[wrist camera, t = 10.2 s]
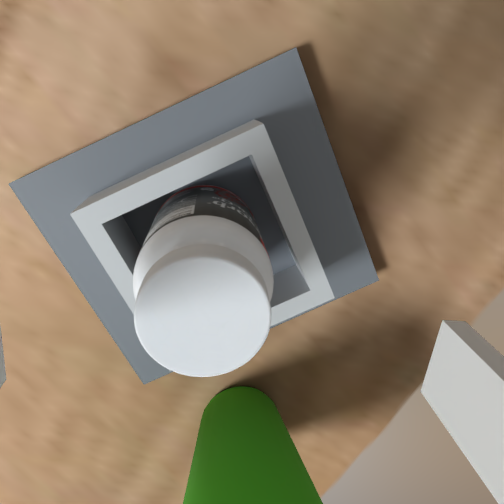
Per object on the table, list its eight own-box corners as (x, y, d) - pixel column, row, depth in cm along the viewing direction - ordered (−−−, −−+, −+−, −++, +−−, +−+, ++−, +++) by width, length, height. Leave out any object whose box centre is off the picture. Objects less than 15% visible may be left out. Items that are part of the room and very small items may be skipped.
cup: (327, 390, 30) (394, 546, 19) (260, 479, 32) (288, 662, 22) (215, 339, 27) (223, 487, 17) (150, 439, 29) (123, 625, 19)
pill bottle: (276, 239, 24) (320, 329, 15) (199, 298, 25) (195, 419, 16) (211, 159, 22) (215, 206, 13) (130, 226, 23) (79, 315, 14)
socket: (292, 49, 22) (313, 38, 17) (372, 273, 27) (404, 307, 23) (16, 180, 22) (-27, 199, 18) (145, 374, 27) (135, 425, 23)
